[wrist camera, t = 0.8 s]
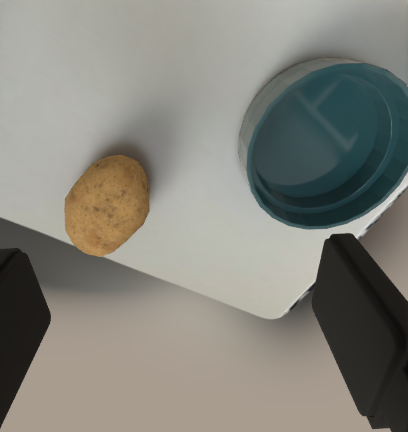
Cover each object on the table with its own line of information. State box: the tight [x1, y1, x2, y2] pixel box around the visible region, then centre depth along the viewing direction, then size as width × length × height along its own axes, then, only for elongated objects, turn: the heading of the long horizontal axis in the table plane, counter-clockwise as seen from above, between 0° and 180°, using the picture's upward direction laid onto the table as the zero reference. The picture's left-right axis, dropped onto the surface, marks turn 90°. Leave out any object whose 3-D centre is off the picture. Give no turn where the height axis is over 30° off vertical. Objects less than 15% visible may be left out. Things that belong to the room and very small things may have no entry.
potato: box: [65, 154, 149, 257], centre depth 39 cm, size 10×14×8 cm
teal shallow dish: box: [239, 58, 408, 229], centre depth 37 cm, size 19×19×6 cm
